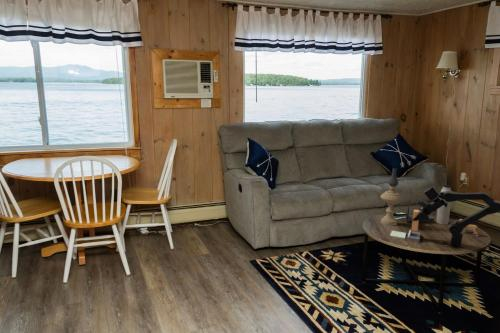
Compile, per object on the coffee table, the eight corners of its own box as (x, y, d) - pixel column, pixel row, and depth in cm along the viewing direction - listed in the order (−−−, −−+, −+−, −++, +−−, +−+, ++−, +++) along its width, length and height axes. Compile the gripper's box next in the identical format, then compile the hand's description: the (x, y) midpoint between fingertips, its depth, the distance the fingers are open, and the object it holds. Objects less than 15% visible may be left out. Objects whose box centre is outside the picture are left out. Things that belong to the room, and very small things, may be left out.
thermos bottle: (442, 220, 281) (447, 183, 276) (450, 224, 274) (455, 186, 268) (433, 221, 279) (438, 184, 273) (441, 225, 271) (446, 187, 266)
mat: (406, 233, 252) (406, 233, 252) (404, 238, 244) (404, 237, 243) (391, 231, 256) (391, 230, 256) (390, 236, 247) (390, 235, 247)
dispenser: (420, 235, 250) (420, 231, 249) (419, 242, 238) (419, 238, 238) (408, 233, 253) (409, 229, 252) (406, 240, 242) (407, 236, 241)
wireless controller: (423, 217, 288) (426, 196, 284) (435, 224, 274) (437, 201, 271) (399, 218, 285) (401, 196, 281) (409, 225, 271) (412, 201, 268)
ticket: (417, 228, 246) (420, 210, 244) (417, 231, 241) (419, 212, 239) (412, 227, 248) (414, 209, 245) (411, 230, 243) (413, 211, 241)
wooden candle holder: (403, 226, 265) (409, 171, 258) (382, 226, 265) (388, 170, 257) (395, 219, 280) (401, 166, 272) (375, 219, 280) (380, 166, 272)
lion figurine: (456, 231, 259) (457, 219, 257) (457, 229, 263) (459, 217, 261) (480, 237, 250) (482, 224, 248) (482, 235, 254) (484, 222, 252)
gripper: (426, 191, 246) (406, 205, 253) (424, 198, 230) (403, 213, 237) (438, 205, 245) (417, 218, 252) (437, 213, 228) (415, 227, 235)
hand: (413, 219), depth 244 cm, fingers closed on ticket, 5 cm apart
